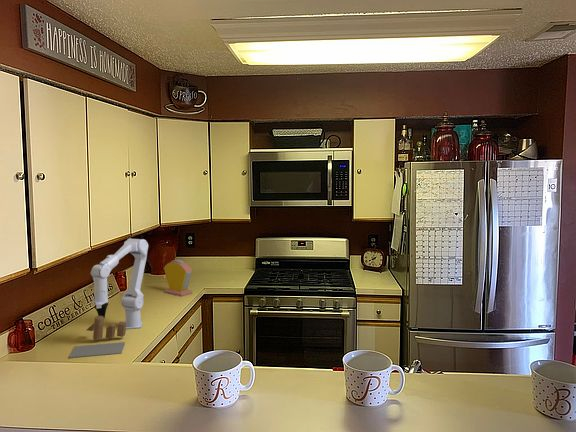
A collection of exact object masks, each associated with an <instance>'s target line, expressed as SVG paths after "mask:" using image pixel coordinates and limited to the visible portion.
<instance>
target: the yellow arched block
mask: <svg viewBox="0 0 576 432" xmlns="http://www.w3.org/2000/svg"><path fill="white" fill-rule="evenodd" d="M163 270H164V273H165V277H166V281H167V285H168V289H164V293H165V294H170V295H173V294H174V295H175V296H178V295H179V297H184V295H185V296H188V294H189V295H192V294H193V290H191V289H190V290H189V286H190V280H191V276H192V271H193V269H192V267H191V266H189V264H188V263H186V262H185V261H184V260H182V259H174V260H171V261H170V262H168V263H166V265H164V267H163ZM174 295H173V296H174Z"/></svg>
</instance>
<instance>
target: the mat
mask: <svg viewBox="0 0 576 432" xmlns="http://www.w3.org/2000/svg"><path fill="white" fill-rule="evenodd" d="M125 343H126V342H125V341H123V342H122V341H120V342H110V343H98V344H97V343H95V344H87V345H86V344H85V345H76V346H74V348H73V349H72V351H71V352H70V354H69V356H68V359H74V358H77V359H78V358H86V357H96V356H107V355H108V356H109V355H120V354H121V355H122V354H123V353H122V352H123V351H124V347H125Z"/></svg>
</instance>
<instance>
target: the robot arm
mask: <svg viewBox="0 0 576 432" xmlns="http://www.w3.org/2000/svg"><path fill="white" fill-rule="evenodd" d="M148 250H149V243H148V241H147V240H146V239H143V238H141V239H140V238H130V237H129V238H127V240H125V241H124V243H123V245H122V246H121V247H120V248H119V249H118V250H117V251H115V253H114V254H107V256H106V258H105V259H103V260H102V261H100V262H99V264H95V265H93V267H92V268H91V271H90V275H91V277H92V280H93V292H94V299H92V300H91V303H93V304H95V305H94V309H95V310H96V312H97V316H103V317H104V320H105V318H106V314H107V308H108V306H109V297H108V295H109V293H108V292H109V291H108V277H109V276H110V273H111V272H112V270H113V269H114V268H115V267H117V266H118V264H119V263H120V262H119V261H120V260H121V259H122V258H124V257H125V256H126V255H127V254H129V253H130V254H131V255H132V256H133V257H134V262H133V266H132V273H131V278H130V283H129V285H128V286H129V287H128V289H127V290H125V291H124V294H123V296H122V298H121V300H120V302H121V306H122V307H123V309H124V311H125V313H124V314H125V322H126V330H128V329H129V330H130V329H141V328H142V326H143V321H142V318H141V317H142V316H141V310H142V308H143V306H144V302H145V301H144V295H145V294H144V293H143V292H142V291H141V288H142V284H143V283H142V282H143V277H144V272H145V266H146V262H147V258H148Z"/></svg>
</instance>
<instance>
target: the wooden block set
mask: <svg viewBox="0 0 576 432" xmlns="http://www.w3.org/2000/svg"><path fill="white" fill-rule="evenodd" d="M104 321H105V319H104V317H103V316H98V315H96V316H95V317H94V321H93V322H94V323H92V324H91V326H89V327H88V328H87V329H86V331H88V332H93V333H92V335H93V336H92V340H94V341H102V339H103V333H104ZM126 330H127V329H126V321H119V322H118V323H117V331H116V323H111V324H110V325H108V326H107V327H106V330H105V339H109V340H110V339H111V340H112V339H114V337H115V331H116V336H117V337H121V338H124V336H125V335H126Z"/></svg>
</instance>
